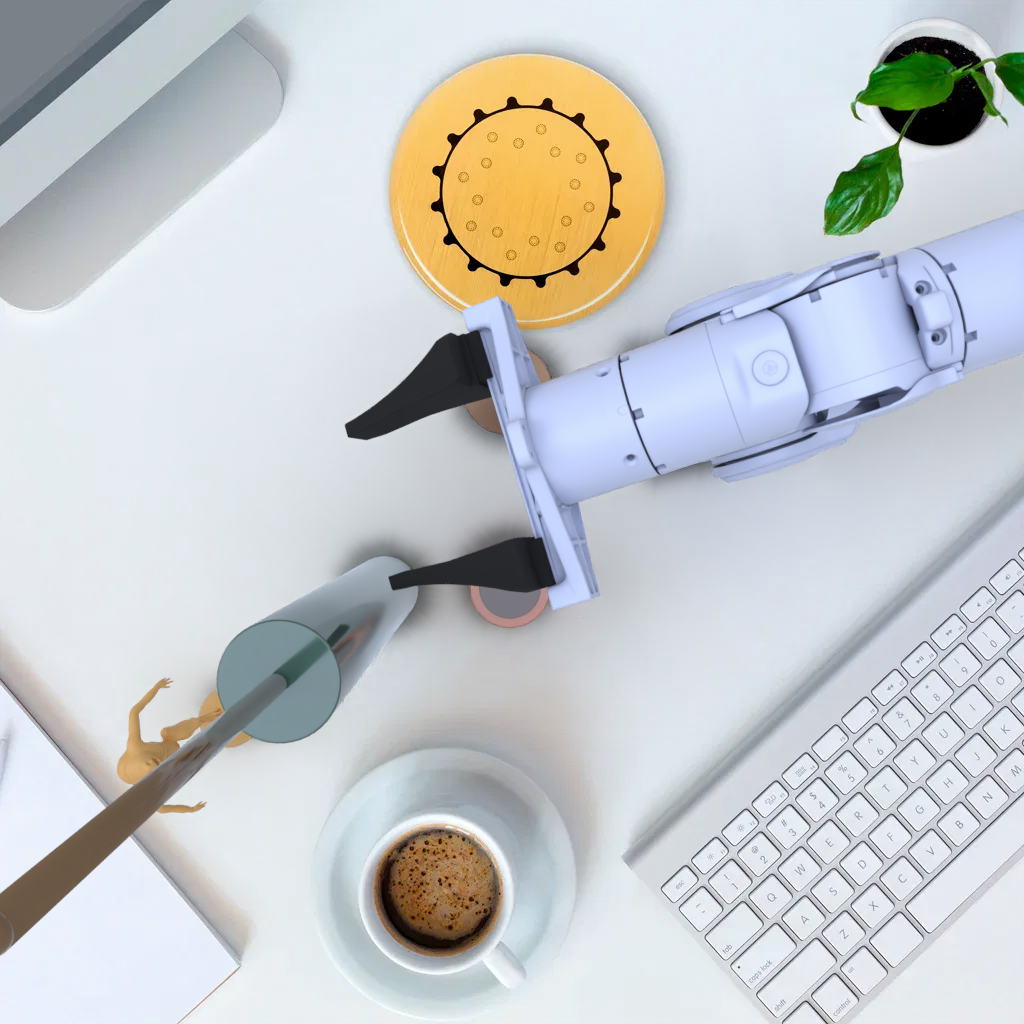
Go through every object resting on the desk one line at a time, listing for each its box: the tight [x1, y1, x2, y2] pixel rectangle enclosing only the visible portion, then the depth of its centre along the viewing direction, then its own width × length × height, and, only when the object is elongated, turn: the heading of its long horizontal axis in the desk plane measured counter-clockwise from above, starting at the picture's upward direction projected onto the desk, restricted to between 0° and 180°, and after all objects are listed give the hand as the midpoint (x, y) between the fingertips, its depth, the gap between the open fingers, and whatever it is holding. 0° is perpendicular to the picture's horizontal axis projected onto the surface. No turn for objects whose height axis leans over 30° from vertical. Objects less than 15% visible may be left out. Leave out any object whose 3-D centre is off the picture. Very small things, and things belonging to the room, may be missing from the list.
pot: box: [469, 585, 549, 629], centre depth 62 cm, size 5×5×6 cm
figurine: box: [116, 677, 252, 814], centre depth 59 cm, size 8×6×12 cm
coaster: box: [464, 348, 552, 435], centre depth 64 cm, size 6×6×1 cm
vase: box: [0, 555, 419, 957], centre depth 40 cm, size 5×5×50 cm
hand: (376, 506), depth 47 cm, fingers open, 7 cm apart
